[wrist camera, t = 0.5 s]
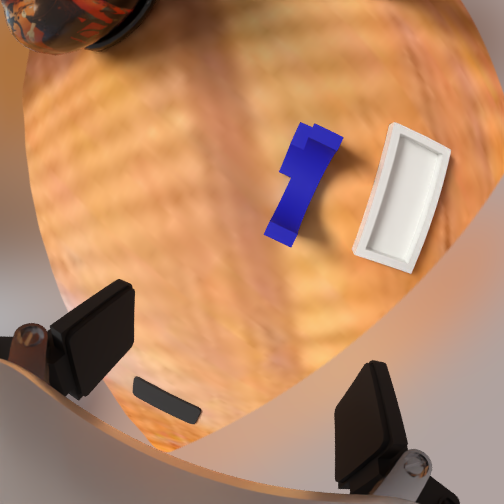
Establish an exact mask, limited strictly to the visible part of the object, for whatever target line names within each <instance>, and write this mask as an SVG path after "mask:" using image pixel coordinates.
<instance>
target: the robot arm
mask: <svg viewBox="0 0 504 504" xmlns="http://www.w3.org/2000/svg"><path fill="white" fill-rule="evenodd" d="M134 304H135V290H134V289H133V288H132V285H131V284H130V283H128V282H125V281H123V280H121V279H118V280H116V281H114V282H113V283H111V284H110V285H108V286H107V287H105V288H104V289H102V290H101V291H99V292H98V293H96V294H95V295H93V296H92V297H90V298H89V299H87V300H86V301H84V302H83V303H82V304H80V305H79V306H77V307H76V308H74V309H73V310H71V311H70V312H69V313H67V314H66V315H64V316H63V317H62V318H60V319H59V320H57V321H56V322H55V323H53V324H52V325H50V330H48V331H46V329H45V328H44V327H43V326H41V325H39V324H35V323H29V324H25V325H22V326H21V327H19V328H18V329H17V330H16V331H15V333H14V336H13V337H0V504H460V502H459V499H458V497H457V496H456V495H455V494H454V493H452V492H451V491H450V490H448V489H447V488H445V487H444V486H443V485H442V484H440V483H439V482H437V481H436V480H435V479H434V478H432V477H431V476H430V475H431V471H432V463H431V460H430V459H429V457H428V456H427V455H426V454H425V453H424V452H422V451H420V450H417V449H410V450H408V448H407V444H408V442H407V438H406V433H405V429H404V425H403V421H402V417H401V413H400V409H399V406H398V402H397V398H396V395H395V391H394V388H393V384H392V381H391V378H390V375H389V371H388V368H387V365H386V363H384V362H379V361H374V360H372V361H370V362H369V363H366V364H365V365H364V366H363V368H362V369H361V371H360V372H359V374H358V376H357V377H356V379H355V380H354V382H353V383H352V385H351V386H350V388H349V389H348V391H347V392H346V394H345V395H344V396H343V398H342V399H341V401H340V402H339V403H338V405H337V406H336V409H335V413H334V417H335V480H336V482H338V488H339V489H350V494H335V493H322V492H313V491H304V490H296V489H289V488H283V487H277V486H271V485H267V484H262V483H257V482H253V481H249V480H244V479H240V478H237V477H233V476H229V475H226V474H222V473H219V472H216V471H212V470H209V469H206V468H203V467H200V466H197V465H195V464H192V463H189V462H186V461H184V460H181V459H178V458H176V457H174V456H171V455H169V454H166V453H164V452H162V451H160V450H157V449H155V448H153V447H151V446H149V445H146V444H144V443H142V442H140V441H138V440H136V439H134V438H132V437H130V436H128V435H126V434H125V433H123V432H121V431H119V430H117V429H115V428H113V427H112V426H110V425H108V424H106V423H105V422H103V421H102V420H100V419H98V418H97V417H95V416H93V415H92V414H90V413H89V412H87V411H86V410H84V409H83V408H81V407H79V406H78V405H76V404H75V403H73V402H72V401H71V400H69V399H68V398H66V397H65V396H66V395H67V394H68V393H69V394H70V395H71V396H73V397H74V398H76V399H77V400H80V398H82V396H87V395H89V393H90V392H91V391H92V390H93V389H94V388H95V387H96V386H97V384H98V383H99V382H100V381H101V380H102V379H103V378H104V377H105V376H106V375H107V373H108V372H109V371H110V370H111V369H112V368H113V367H114V366H115V365H116V364H117V362H118V361H119V360H120V359H121V358H122V357H123V356H124V355H125V354H126V353H127V352H128V351H129V349H130V348H131V347H132V345H133V343H134Z"/></svg>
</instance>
